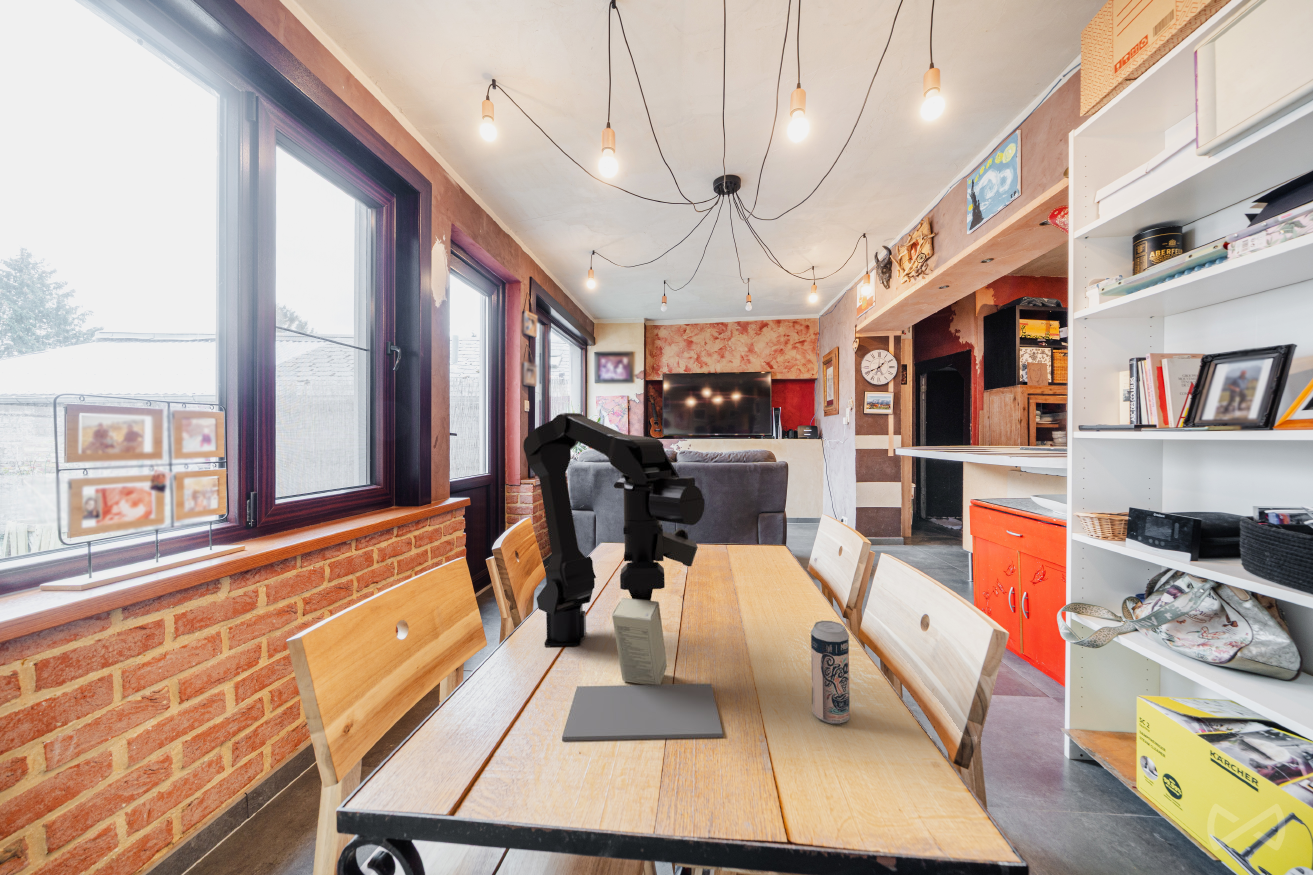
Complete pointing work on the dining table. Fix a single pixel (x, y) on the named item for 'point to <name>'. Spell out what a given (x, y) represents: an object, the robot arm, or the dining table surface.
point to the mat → (643, 712)
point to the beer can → (830, 672)
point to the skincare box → (640, 641)
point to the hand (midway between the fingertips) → (644, 617)
